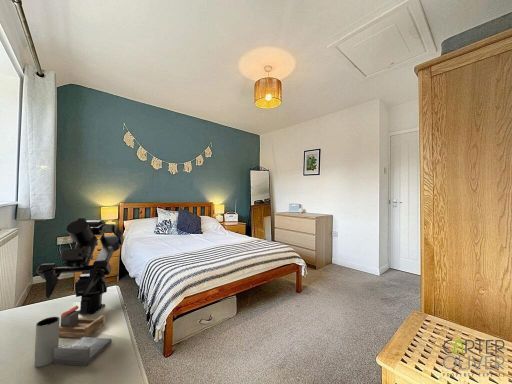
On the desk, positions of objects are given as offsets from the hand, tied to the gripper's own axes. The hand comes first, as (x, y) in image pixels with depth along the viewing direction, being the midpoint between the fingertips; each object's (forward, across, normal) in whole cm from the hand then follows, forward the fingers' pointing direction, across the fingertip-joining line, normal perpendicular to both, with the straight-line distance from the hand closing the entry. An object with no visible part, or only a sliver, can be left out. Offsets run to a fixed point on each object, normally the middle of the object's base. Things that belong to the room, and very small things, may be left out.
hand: (65, 296), depth 66 cm
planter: (+15, 0, +4) cm, 16 cm away
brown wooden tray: (+6, +1, +13) cm, 14 cm away
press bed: (+15, +8, +4) cm, 17 cm away
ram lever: (+4, -1, +13) cm, 14 cm away
